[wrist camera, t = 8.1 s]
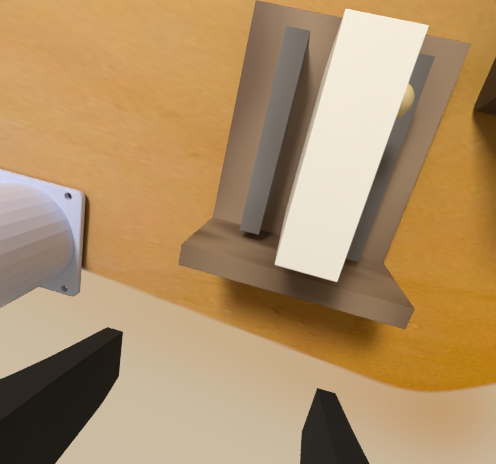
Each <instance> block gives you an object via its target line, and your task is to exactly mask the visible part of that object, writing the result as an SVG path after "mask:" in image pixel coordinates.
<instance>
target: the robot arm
mask: <svg viewBox="0 0 496 464" xmlns="http://www.w3.org/2000/svg"><path fill="white" fill-rule="evenodd" d="M69 193H70V194H71V196H72V198H70V197H69ZM84 215H85V195H84V194H83V192H81V191H79V190H76V189H72V188H69V187H65V186H61V185H58V184H54V183H50V182H47V181H43V180H39V179H36V178H32V177H28V176H25V175H21V174H17V173H14V172H10V171H6V170H2V169H0V307H3V306H4V305H6V304H8V303H10V302H12V301H13V300H15V299H17V298H19V297H21V296H23V295H24V294H26V293H28V292H30V291H32V290H33V289H35V288H37V287H43V288H46V289H49V290H52V291H56V292H60V293H62V294H66V295H69V296H75V295H77V294H78V293H79V292H80V281H81V265H82V248H83V232H84ZM65 286H66V287H67V288H66V287H65ZM122 335H123V332H121V331H118V330H115V329H111V328H105V329H103V330H101V331H99V332H97V333H95V334H93V335H92V336H90V337H88V338H86V339H84V340H82V341H80V342H78V343H76V344H74V345H72V346H70V347H68V348H66V349H64V350H62V351H61V352H58V353H57V354H55V355H53V356H51V357H49V358H46V359H44V360H42V361H40V362H38V363H36V364H34V365H32V366H29V367H27V368H25V369H23V370H21V371H18V372H16V373H14V374H12V375H9V376H7V377H5V378H2V379H0V464H55V463H56V462H57V460H58V459H59V458H60V457H61V455H62V454H63V453H64V451H65V450H66V449H67V448H68V446H69V445H70V444H71V443H72V441H73V440H74V439H75V437H76V436H77V435H78V433H79V432H80V431H81V430H82V429H83V427H84V426H85V425H86V423H87V422H88V421H89V420H90V418H91V417H92V416H93V414H94V413H95V412H96V410H97V409H98V408H99V406H100V405H101V404H102V402H103V401H104V399H105V398H106V396H107V395H108V393H109V391H110V390H111V388H112V386H113V385H114V383H115V381H116V380H117V378H118V376H119V368H120V356H121V345H122ZM300 464H369V462H368V460H367V458H366V456H365V454H364V452H363V450H362V448H361V446H360V444H359V442H358V441H357V438H356V436H355V434H354V432H353V430H352V428H351V426H350V424H349V422H348V420H347V418H346V415H345V413H344V411H343V409H342V407H341V405H340V403H339V400H338V398H337V396H336V394H335V393H332V392H329V391H325V390H322V389H318V388H317V391H316V394H315V396H314V399H313V402H312V405H311V408H310V410H309V413H308V416H307V419H306V422H305V425H304V427H303V430H302V440H301V460H300Z"/></svg>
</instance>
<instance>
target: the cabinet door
mask: <svg viewBox="0 0 496 464" xmlns="http://www.w3.org/2000/svg"><path fill="white" fill-rule="evenodd" d="M428 26H429V25H425V24H420V23H415V22H410V21H405V20H400V19H395V18H390V17H385V16H380V15H375V14H370V13H365V12H360V11H355V10H349V9H345V12H344V15H343V18H342V21H341V24H340V27H339V30H338V33H337V36H336V39H335V42H334V44H333V47H332V50H331V53H330V56H329V59H328V62H327V65H326V68H325V71H324V74H323V77H322V80H321V84H320V88H319V91H318V95H317V99H316V102H315V106H314V109H313V113H312V117H311V120H310V124H309V128H308V131H307V135H306V139H305V142H304V146H303V150H302V153H301V157H300V160H299V164H298V168H297V171H296V175H295V179H294V182H293V186H292V190H291V193H290V197H289V201H288V204H287V208H286V212H285V217H284V221H283V226H282V231H281V236H280V241H279V245H278V250H277V255H276V260H275V265H277V266H281V267H284V268H288V269H292V270H295V271H299V272H302V273H306V274H310V275H313V276H317V277H320V278H324V279H328V280H331V281H335V282H337V281H338V279H339V276H340V273H341V270H342V267H343V265H344V262H345V259H346V256H347V253H348V251H349V248H350V245H351V242H352V239H353V237H354V234H355V231H356V228H357V225H358V222H359V220H360V217H361V214H362V211H363V208H364V206H365V203H366V200H367V197H368V194H369V192H370V189H371V186H372V183H373V180H374V178H375V175H376V172H377V169H378V166H379V164H380V161H381V158H382V155H383V152H384V150H385V147H386V144H387V141H388V138H389V136H390V133H391V130H392V127H393V124H394V122H395V119H396V118H397V117H400V116H402V115H404V114H405V113H406V112H408V111H409V109H410V108H411V106H412V105H413V102H414V96H415V95H414V90H413V88H412V86H411V85H410V84H409V83H408V82H409V80H410V77H411V74H412V71H413V68H414V66H415V63H416V60H417V57H418V54H419V52H420V49H421V46H422V43H423V40H424V38H425V35H426V32H427V29H428Z"/></svg>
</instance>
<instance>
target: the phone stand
mask: <svg viewBox="0 0 496 464" xmlns="http://www.w3.org/2000/svg"><path fill="white" fill-rule="evenodd" d="M474 108H475V110H479V111H483V112H488V113H492V114H496V58H495V60H494V62H493V65H492V67H491V69H490V72H489V74H488V76H487V78H486V81H485V83H484V85H483V87H482V90H481V92H480V94H479V97H478V99H477V101H476V103H475V107H474Z"/></svg>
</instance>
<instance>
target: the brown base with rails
mask: <svg viewBox="0 0 496 464" xmlns="http://www.w3.org/2000/svg"><path fill="white" fill-rule="evenodd" d="M341 21H342V18H341V17H336V16H331V15H326V14H321V13H316V12H311V11H306V10H301V9H296V8H291V7H286V6H282V5H277V4H272V3H267V2H262V1H257V0H256V3H255V8H254V13H253V18H252V23H251V28H250V33H249V38H248V43H247V48H246V53H245V58H244V63H243V68H242V73H241V78H240V83H239V88H238V93H237V99H236V104H235V109H234V114H233V119H232V124H231V129H230V134H229V139H228V144H227V149H226V154H225V159H224V164H223V169H222V174H221V179H220V184H219V189H218V194H217V199H216V204H215V209H214V214H213V218H211V219H210V220H209V221H208V222H207V223H206V224H204V225H203V226H202V227H201V228H200V229H199V230H198V231H196V232H195V233H194V234H193V235H192V236H191V237H189V238H188V239H187V240H186V241H185V242H184V243H183V244H182V246H181V252H180V258H179V264H178V265H182V266H185V267H189V268H192V269H196V270H199V271H203V272H206V273H210V274H213V275H217V276H220V277H224V278H227V279H231V280H234V281H238V282H241V283H244V284H248V285H251V286H255V287H258V288H262V289H265V290H269V291H272V292H276V293H279V294H283V295H286V296H290V297H293V298H297V299H300V300H304V301H307V302H311V303H314V304H318V305H321V306H325V307H328V308H332V309H335V310H339V311H342V312H346V313H349V314H353V315H356V316H360V317H363V318H367V319H370V320H374V321H377V322H381V323H384V324H388V325H391V326H395V327H398V328H402V329H406V327H407V324H408V322H409V320H410V318H411V316H412V314H413V311H414V307H413V306H412V305H411V303H410V302H409V300H408V299H407V297H406V296H405V294H404V293H403V291H402V290H401V288H400V287H399V286H398V284H397V283H396V281H395V280H394V278H393V277H392V275H391V274H390V272H389V271H388V269H387V268H386V267H385V265H384V264H383V262H384V259H385V257H386V254H387V252H388V249H389V247H390V244H391V242H392V239H393V237H394V234H395V232H396V229H397V227H398V224H399V222H400V219H401V217H402V214H403V212H404V209H405V207H406V204H407V202H408V199H409V197H410V194H411V192H412V189H413V187H414V184H415V182H416V179H417V177H418V174H419V172H420V169H421V167H422V165H423V162H424V160H425V157H426V155H427V152H428V150H429V147H430V145H431V142H432V140H433V137H434V135H435V132H436V130H437V127H438V125H439V122H440V120H441V117H442V115H443V112H444V110H445V107H446V105H447V102H448V100H449V97H450V95H451V92H452V90H453V87H454V85H455V82H456V80H457V77H458V75H459V72H460V70H461V67H462V65H463V62H464V60H465V57H466V55H467V52H468V50H469V47H470V45H471V44H470V43H465V42H460V41H455V40H450V39H445V38H440V37H435V36H430V35H425V38H424V40H423V43H422V46H421V49H420V52H419V54H418V57H417V60H416V63H415V66H414V68H413V71H412V74H411V77H410V80H409V82H408V83H409V84H410V85H411V86H412V88H413V90H414V95H415V96H414V102H413V105H412V106H411V108H410V109H409V111H408V112H406V113H405V114H404V115H402V116H400V117H397V118H396V119H395V122H394V124H393V127H392V130H391V133H390V136H389V138H388V141H387V144H386V147H385V150H384V152H383V155H382V158H381V161H380V164H379V166H378V169H377V172H376V175H375V178H374V180H373V183H372V186H371V189H370V192H369V194H368V197H367V200H366V203H365V206H364V208H363V211H362V214H361V217H360V220H359V222H358V225H357V228H356V231H355V234H354V237H353V239H352V242H351V245H350V248H349V251H348V253H347V256H346V259H345V262H344V265H343V267H342V270H341V273H340V276H339V279H338V281H337V282H335V281H331V280H328V279H324V278H320V277H317V276H313V275H310V274H306V273H302V272H299V271H295V270H292V269H288V268H284V267H281V266H277V265H275V260H276V255H277V250H278V245H279V241H280V236H281V231H282V226H283V221H284V217H285V212H286V208H287V204H288V201H289V197H290V193H291V190H292V186H293V182H294V179H295V175H296V171H297V168H298V164H299V160H300V157H301V153H302V150H303V146H304V142H305V139H306V135H307V131H308V128H309V124H310V120H311V117H312V113H313V109H314V106H315V102H316V99H317V95H318V91H319V88H320V84H321V80H322V77H323V74H324V71H325V68H326V65H327V62H328V59H329V56H330V53H331V50H332V47H333V44H334V42H335V39H336V36H337V33H338V30H339V27H340V24H341Z"/></svg>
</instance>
